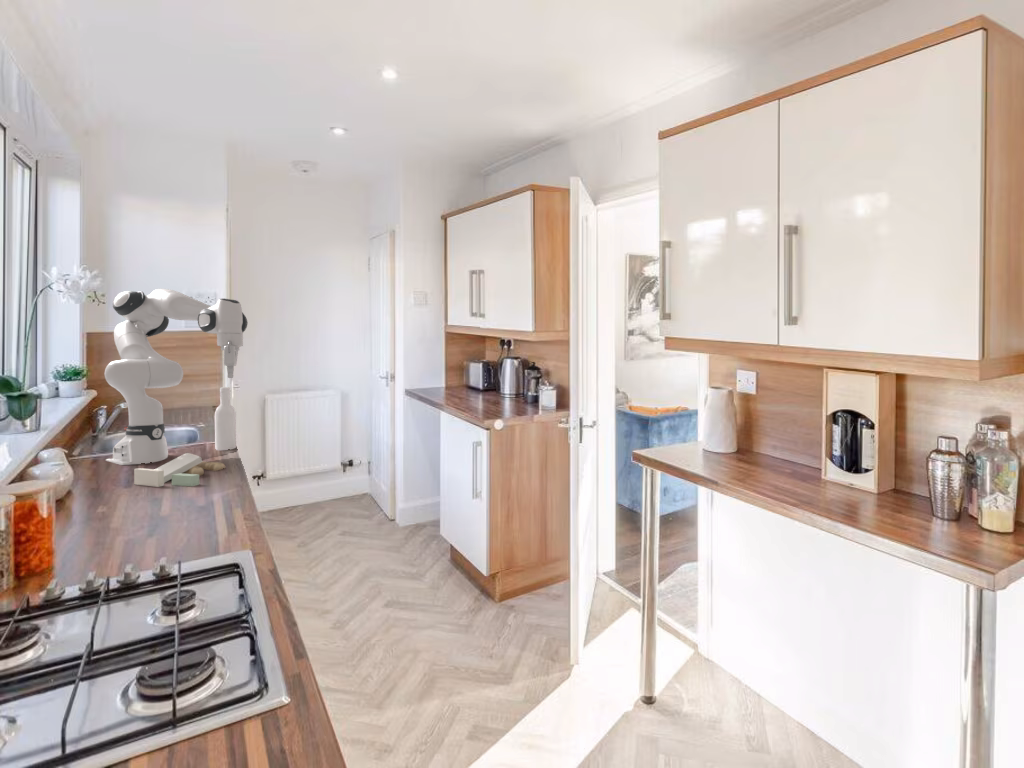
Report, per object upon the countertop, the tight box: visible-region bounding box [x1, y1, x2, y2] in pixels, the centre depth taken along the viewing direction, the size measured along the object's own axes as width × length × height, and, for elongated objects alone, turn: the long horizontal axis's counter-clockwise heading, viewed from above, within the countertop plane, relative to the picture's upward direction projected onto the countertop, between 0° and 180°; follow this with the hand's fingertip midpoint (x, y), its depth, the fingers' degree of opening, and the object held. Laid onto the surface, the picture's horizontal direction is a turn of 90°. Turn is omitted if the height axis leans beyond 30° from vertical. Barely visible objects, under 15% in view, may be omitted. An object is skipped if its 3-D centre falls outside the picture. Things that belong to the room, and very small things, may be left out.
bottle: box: [214, 386, 237, 451], centre depth 239 cm, size 8×8×30 cm
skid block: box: [171, 473, 200, 487], centre depth 189 cm, size 8×3×4 cm, turn 75°
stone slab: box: [155, 452, 203, 484], centre depth 199 cm, size 9×14×2 cm, turn 146°
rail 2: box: [196, 460, 226, 472], centre depth 210 cm, size 12×4×4 cm, turn 68°
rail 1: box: [182, 466, 205, 477], centre depth 201 cm, size 12×4×4 cm, turn 68°
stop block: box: [133, 467, 165, 488], centre depth 189 cm, size 11×2×5 cm, turn 68°
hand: (230, 377), depth 222 cm, fingers closed
